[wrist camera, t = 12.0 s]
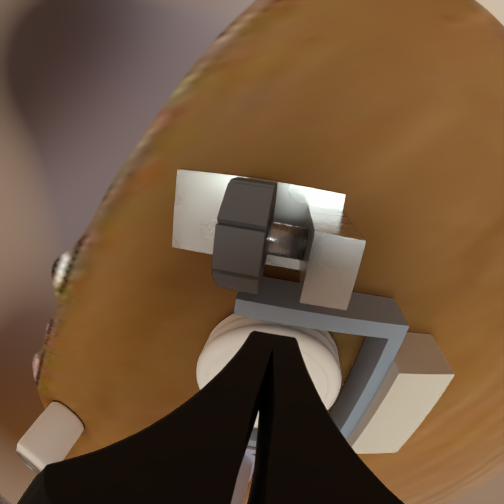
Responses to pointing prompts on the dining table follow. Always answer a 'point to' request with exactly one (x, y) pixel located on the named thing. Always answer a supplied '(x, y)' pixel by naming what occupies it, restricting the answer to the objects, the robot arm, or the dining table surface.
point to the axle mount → (280, 233)
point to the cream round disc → (309, 340)
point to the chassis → (365, 363)
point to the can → (49, 437)
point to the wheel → (243, 234)
